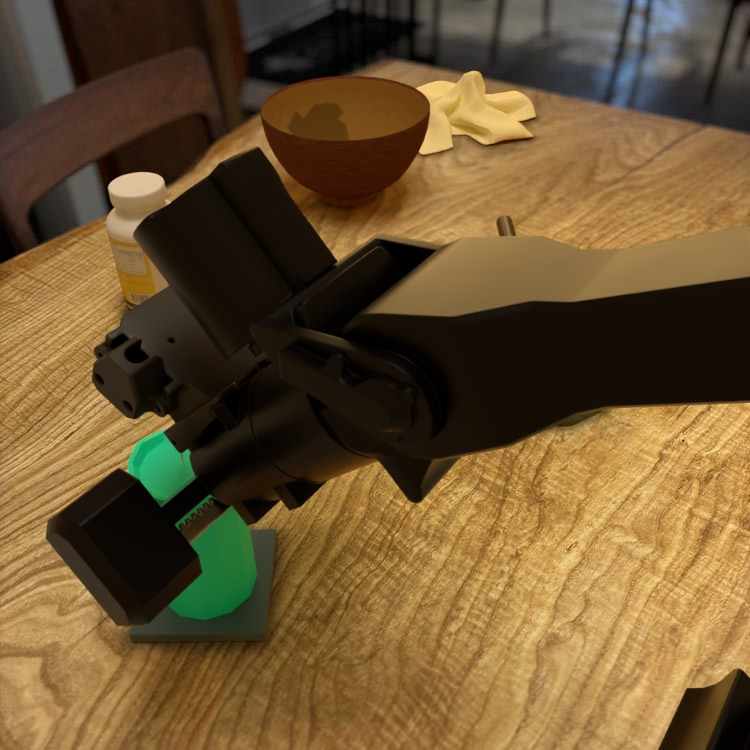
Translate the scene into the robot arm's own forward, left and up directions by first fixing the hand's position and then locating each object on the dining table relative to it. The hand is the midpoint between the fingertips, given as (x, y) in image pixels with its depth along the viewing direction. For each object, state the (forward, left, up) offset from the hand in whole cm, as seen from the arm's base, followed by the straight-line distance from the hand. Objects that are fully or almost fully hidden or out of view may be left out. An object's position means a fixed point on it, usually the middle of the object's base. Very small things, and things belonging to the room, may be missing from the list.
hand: (171, 487), depth 49 cm
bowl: (+16, -51, -8) cm, 54 cm away
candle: (-2, 0, -7) cm, 8 cm away
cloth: (+12, -75, -8) cm, 76 cm away
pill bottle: (+22, -25, -8) cm, 34 cm away
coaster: (-1, 0, -8) cm, 8 cm away
